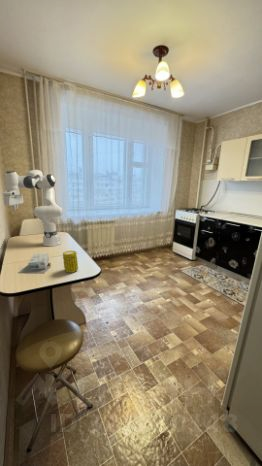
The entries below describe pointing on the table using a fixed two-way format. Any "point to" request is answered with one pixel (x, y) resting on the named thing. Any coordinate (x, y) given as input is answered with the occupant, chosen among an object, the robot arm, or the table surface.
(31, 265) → the light bulb box
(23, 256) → the table surface
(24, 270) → the mat
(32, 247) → the table surface
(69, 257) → the food
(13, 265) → the table surface
